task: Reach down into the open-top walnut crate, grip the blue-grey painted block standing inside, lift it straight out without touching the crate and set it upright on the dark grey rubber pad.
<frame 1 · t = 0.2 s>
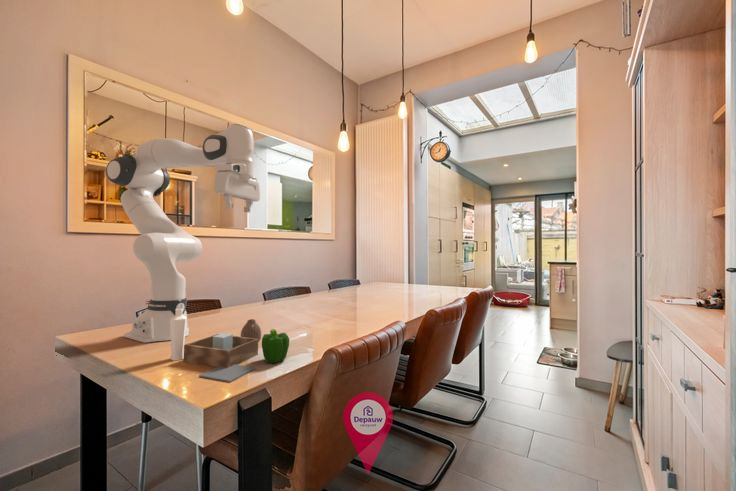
hand: (238, 210, 114), 47 cm above the table, tool pointing down, fingers open, 8 cm apart
vase: (250, 345, 115), on the table
bell pepper: (274, 361, 99), on the table
block: (222, 346, 100), in the walnut crate
perfume bottle: (178, 358, 99), on the table
walnut crate: (222, 358, 100), on the table
pad: (228, 372, 89), on the table
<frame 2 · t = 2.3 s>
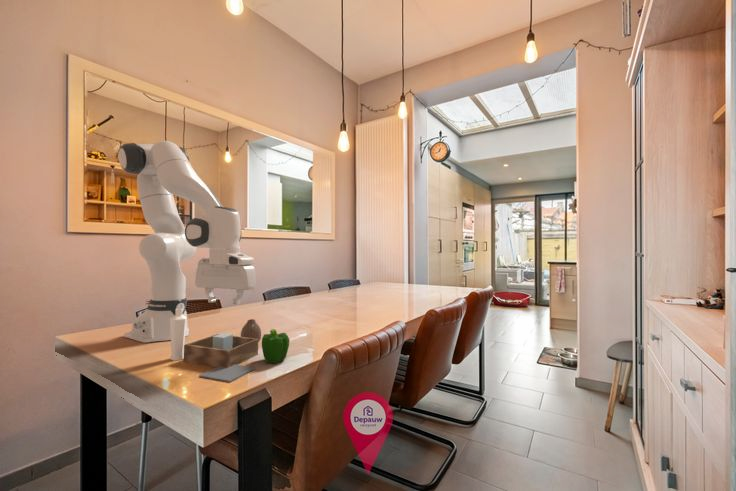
hand: (224, 303, 101), 17 cm above the table, tool pointing down, fingers open, 8 cm apart
nothing on the table moved.
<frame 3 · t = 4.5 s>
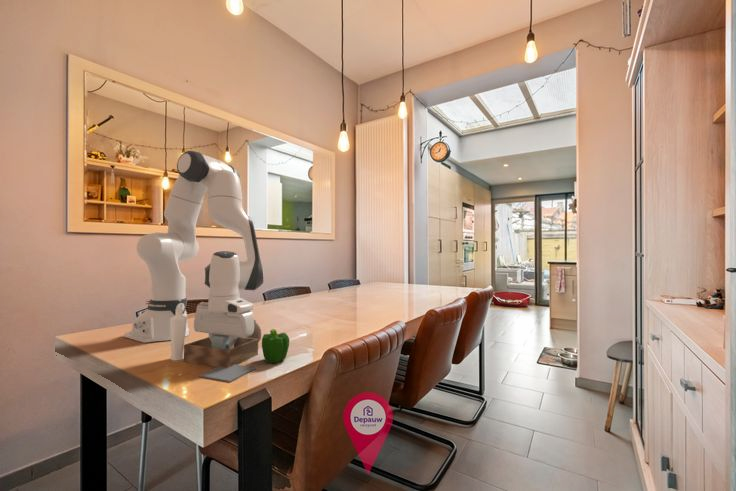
hand: (222, 348, 100), 3 cm above the table, tool pointing down, fingers closed on block, 4 cm apart
block: (222, 346, 100), in the walnut crate, touching gripper
everything else where it was.
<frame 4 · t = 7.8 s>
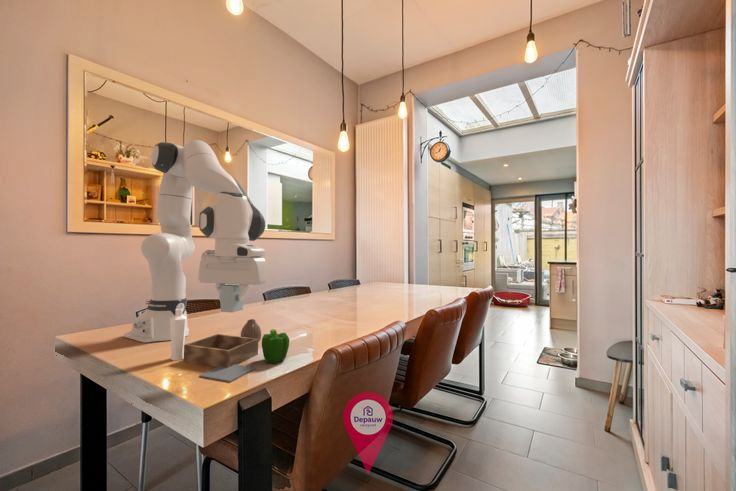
hand: (231, 300, 89), 20 cm above the table, tool pointing down, fingers closed on block, 4 cm apart
block: (231, 298, 89), point 20 cm above the table, touching gripper
everything else where it was.
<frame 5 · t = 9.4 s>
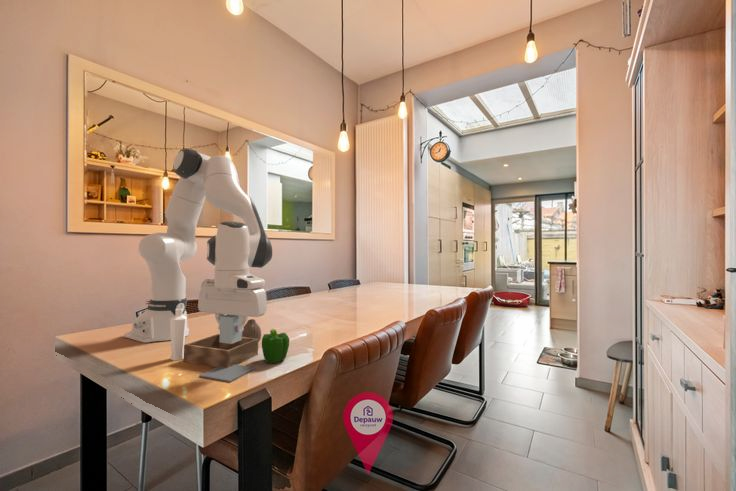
hand: (231, 330, 89), 11 cm above the table, tool pointing down, fingers closed on block, 4 cm apart
block: (231, 328, 89), point 12 cm above the table, touching gripper
everything else where it was.
when the fingers open (5 cm above the table, at t = 11.0 s): block drops 1 cm, resting on pad.
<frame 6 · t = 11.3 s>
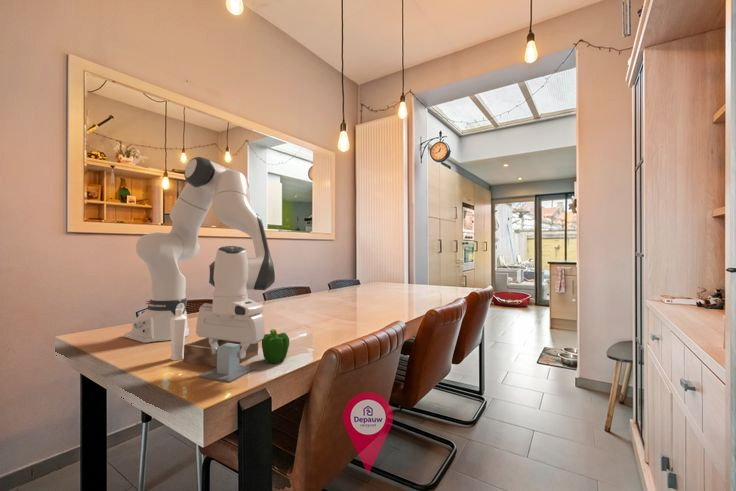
hand: (228, 355, 89), 5 cm above the table, tool pointing down, fingers open, 7 cm apart
block: (228, 358, 89), on the pad
everything else where it was.
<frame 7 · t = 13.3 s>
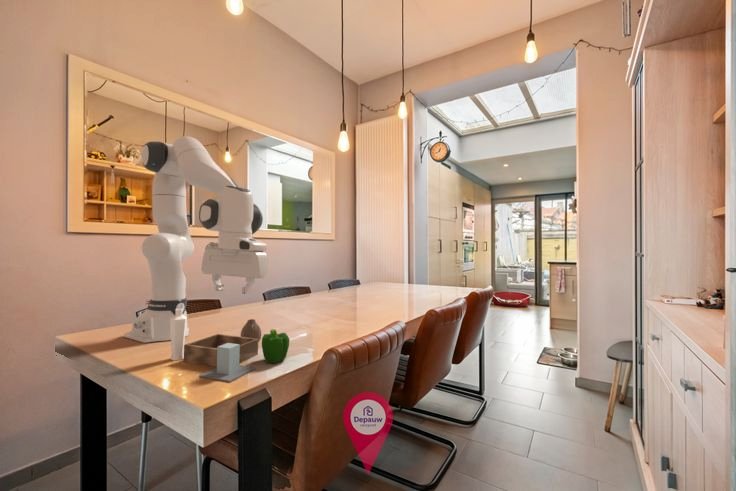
hand: (232, 292, 92), 22 cm above the table, tool pointing down, fingers open, 8 cm apart
nothing on the table moved.
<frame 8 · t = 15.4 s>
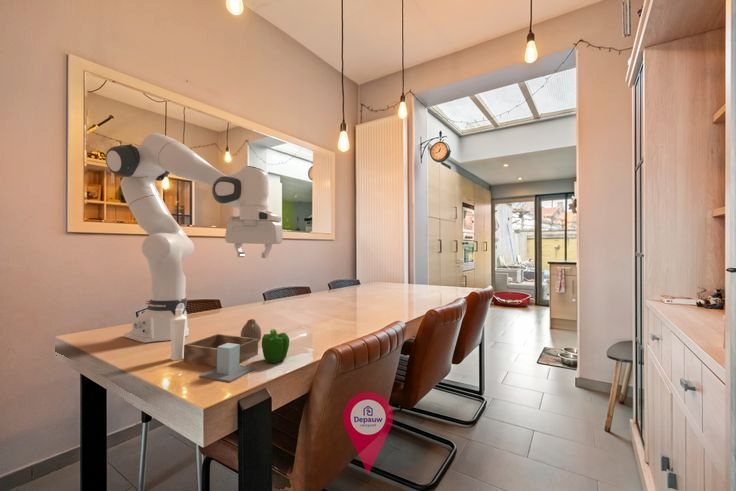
hand: (252, 257, 107), 31 cm above the table, tool pointing down, fingers open, 8 cm apart
nothing on the table moved.
at the end: block inside the target area on the pad (0.1 cm from its centre), point 3.9 cm above the pad's base; block tilted 0°; the gripper is holding nothing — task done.
